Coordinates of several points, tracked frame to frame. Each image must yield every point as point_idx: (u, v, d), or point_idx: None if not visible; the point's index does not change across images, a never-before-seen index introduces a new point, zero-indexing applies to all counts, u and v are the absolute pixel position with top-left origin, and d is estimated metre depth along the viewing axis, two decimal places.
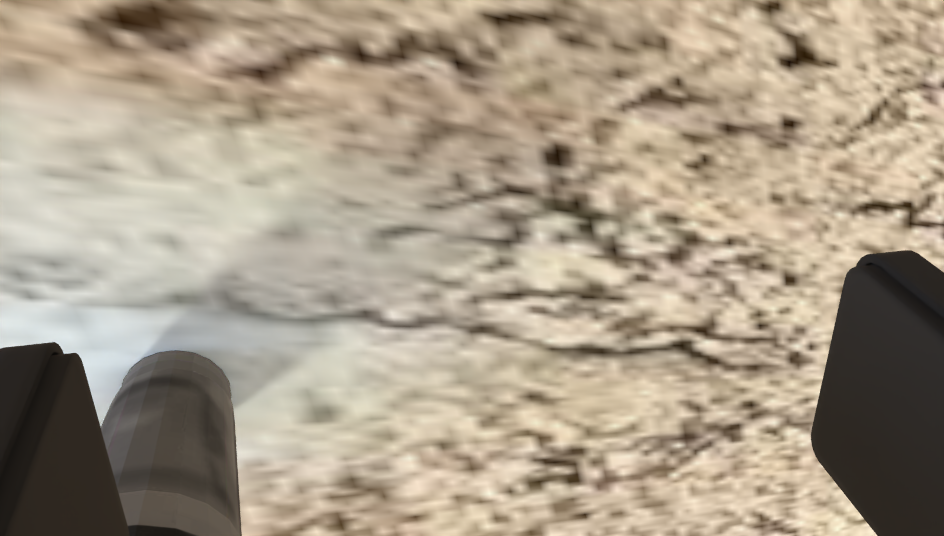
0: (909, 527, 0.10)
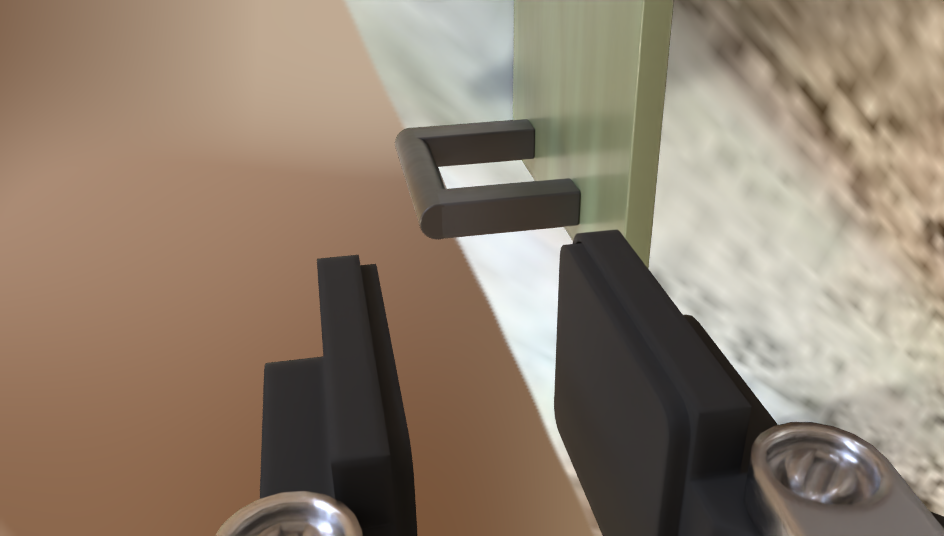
0: (600, 489, 0.11)
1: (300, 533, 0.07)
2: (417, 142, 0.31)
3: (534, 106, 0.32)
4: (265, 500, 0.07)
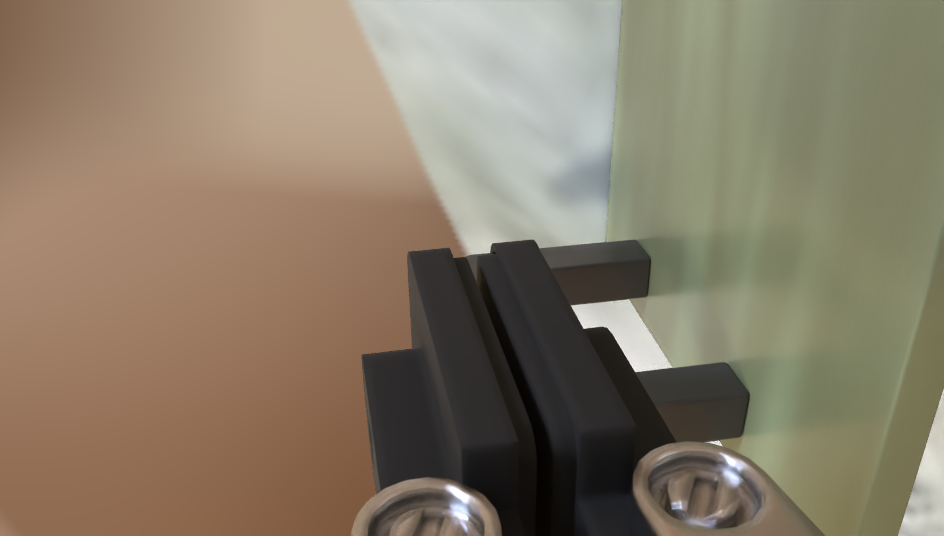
0: None
1: (435, 518, 0.07)
2: None
3: (651, 228, 0.23)
4: (397, 486, 0.08)
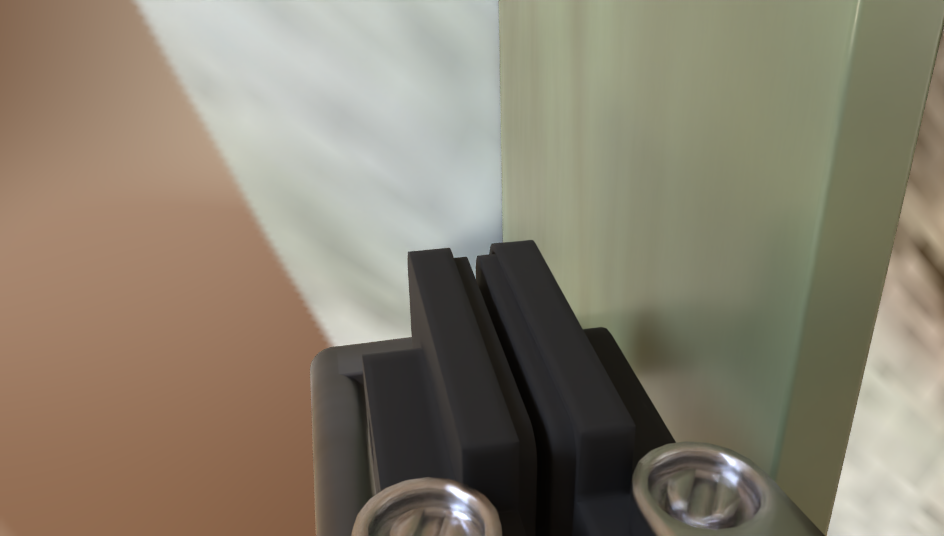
0: None
1: (435, 518, 0.07)
2: (339, 387, 0.19)
3: None
4: (397, 486, 0.08)
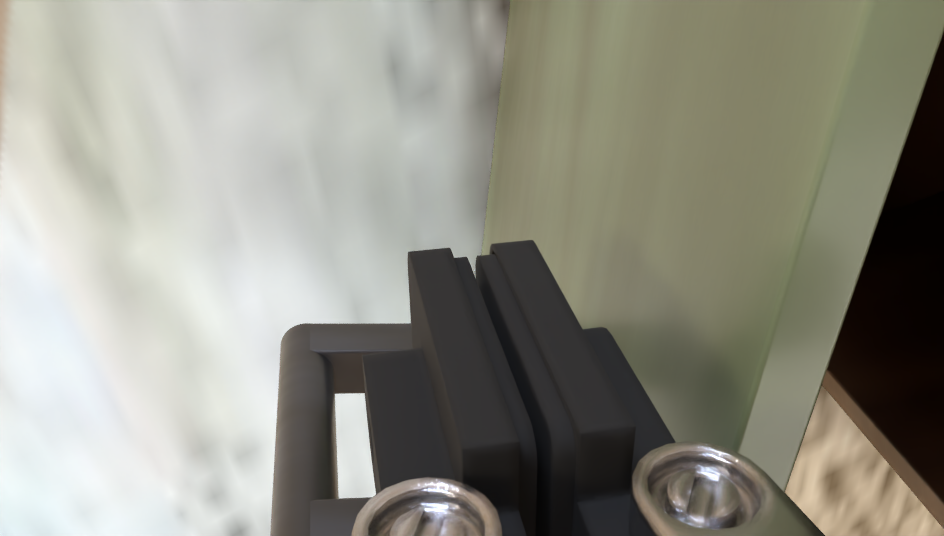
0: None
1: (435, 518, 0.07)
2: (309, 362, 0.19)
3: None
4: (397, 486, 0.08)
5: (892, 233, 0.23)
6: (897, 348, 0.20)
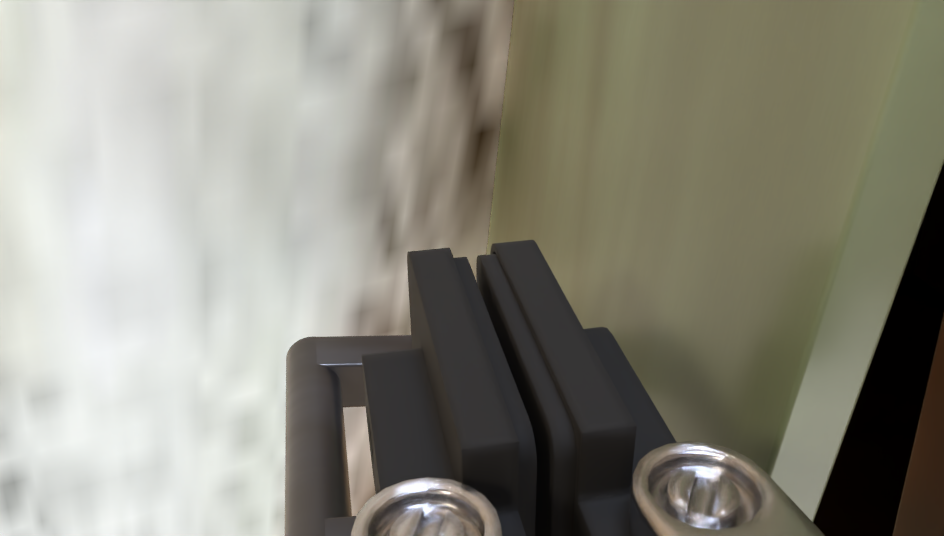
0: None
1: (435, 518, 0.07)
2: (317, 376, 0.19)
3: None
4: (397, 486, 0.08)
5: None
6: None
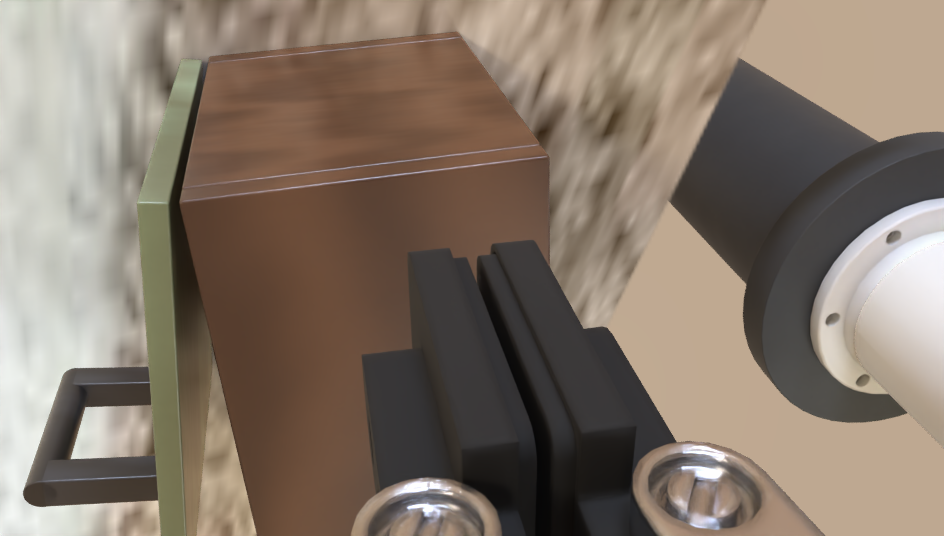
0: None
1: (435, 518, 0.07)
2: (70, 390, 0.36)
3: None
4: (397, 486, 0.08)
5: None
6: None
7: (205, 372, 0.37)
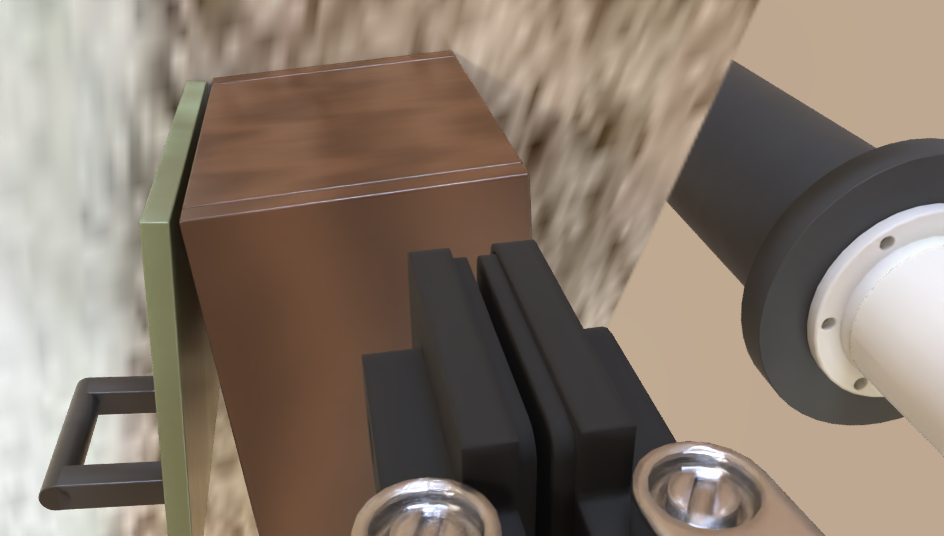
0: None
1: (435, 518, 0.07)
2: (83, 399, 0.37)
3: None
4: (397, 486, 0.08)
5: None
6: None
7: (212, 380, 0.38)
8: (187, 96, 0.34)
